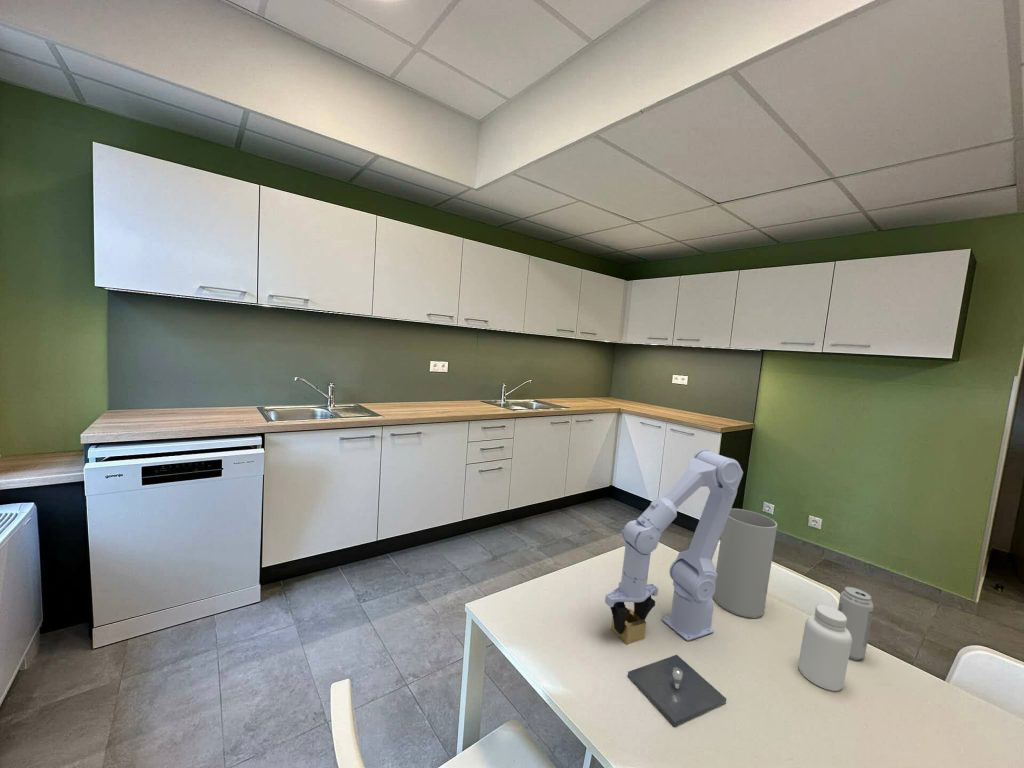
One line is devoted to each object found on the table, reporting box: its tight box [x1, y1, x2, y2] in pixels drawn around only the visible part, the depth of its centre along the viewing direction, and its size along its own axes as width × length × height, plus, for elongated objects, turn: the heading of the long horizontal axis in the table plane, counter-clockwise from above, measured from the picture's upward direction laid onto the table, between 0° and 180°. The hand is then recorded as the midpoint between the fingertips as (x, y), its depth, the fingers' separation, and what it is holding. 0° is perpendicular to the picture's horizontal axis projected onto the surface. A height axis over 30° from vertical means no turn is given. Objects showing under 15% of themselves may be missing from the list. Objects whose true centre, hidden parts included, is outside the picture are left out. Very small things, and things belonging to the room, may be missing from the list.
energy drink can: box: [837, 586, 874, 661], centre depth 96 cm, size 6×6×15 cm
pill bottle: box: [797, 604, 852, 692], centre depth 87 cm, size 8×8×15 cm
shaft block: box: [627, 654, 727, 728], centre depth 80 cm, size 14×12×4 cm
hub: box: [610, 608, 647, 645], centre depth 95 cm, size 5×5×4 cm
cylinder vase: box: [712, 508, 778, 619], centre depth 111 cm, size 12×12×25 cm
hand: (628, 628), depth 95 cm, fingers closed on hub, 5 cm apart
